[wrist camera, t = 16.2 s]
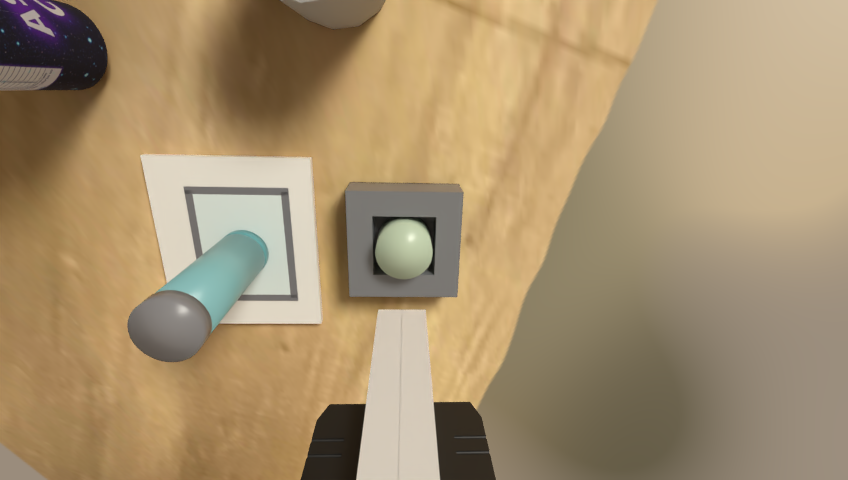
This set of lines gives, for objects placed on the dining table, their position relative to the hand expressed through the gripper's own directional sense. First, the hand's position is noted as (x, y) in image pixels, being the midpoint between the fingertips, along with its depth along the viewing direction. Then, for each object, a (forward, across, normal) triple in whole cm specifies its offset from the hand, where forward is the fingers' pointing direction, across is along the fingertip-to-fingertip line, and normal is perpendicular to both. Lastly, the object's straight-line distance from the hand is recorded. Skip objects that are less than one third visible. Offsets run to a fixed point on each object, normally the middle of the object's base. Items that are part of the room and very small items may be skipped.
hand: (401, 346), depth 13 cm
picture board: (+22, -14, -5) cm, 27 cm away
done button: (+21, 0, -4) cm, 22 cm away
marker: (+22, -14, -6) cm, 26 cm away
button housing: (+22, 0, -4) cm, 23 cm away
